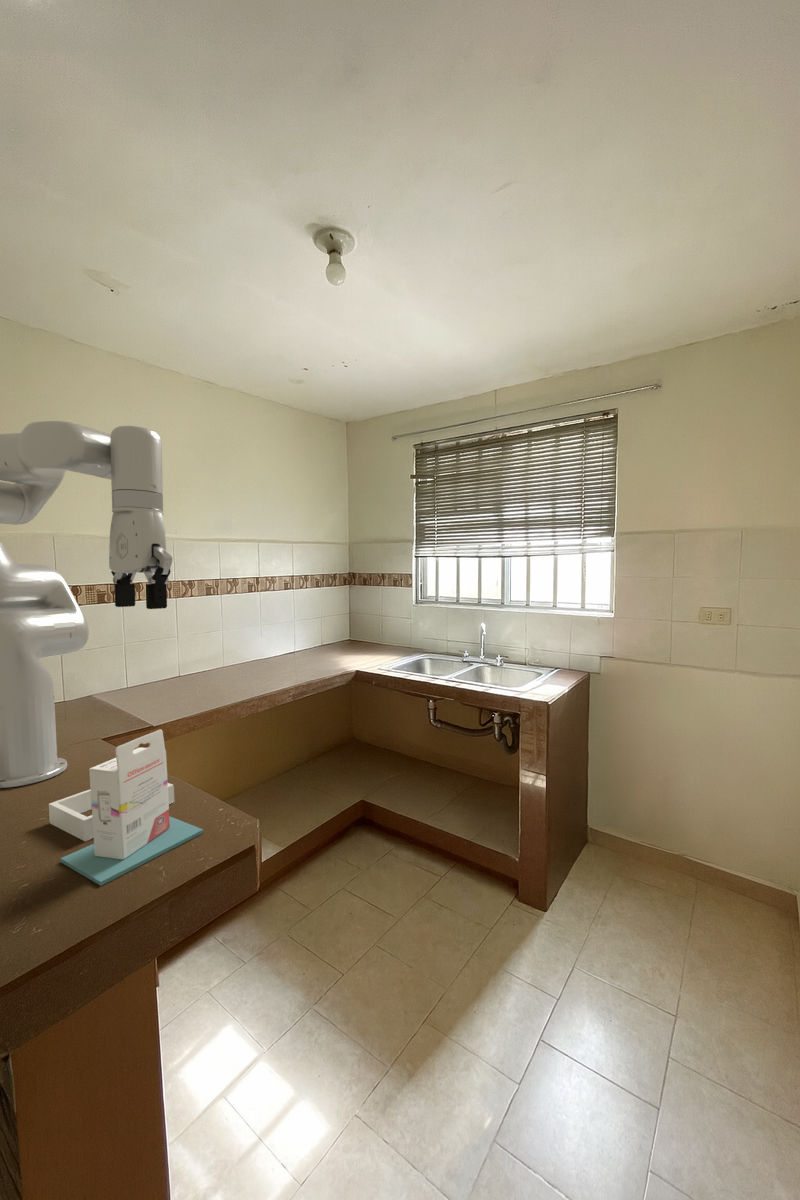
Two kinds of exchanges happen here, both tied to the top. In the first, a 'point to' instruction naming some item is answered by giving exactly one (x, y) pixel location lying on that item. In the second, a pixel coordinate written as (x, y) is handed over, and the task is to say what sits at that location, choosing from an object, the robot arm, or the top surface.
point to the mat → (111, 868)
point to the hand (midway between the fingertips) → (140, 607)
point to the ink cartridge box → (130, 797)
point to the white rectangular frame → (70, 809)
